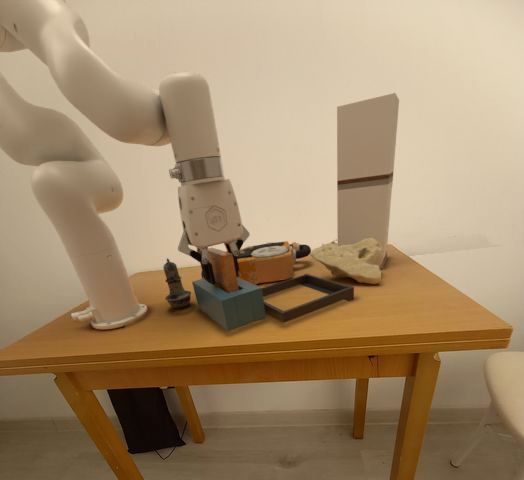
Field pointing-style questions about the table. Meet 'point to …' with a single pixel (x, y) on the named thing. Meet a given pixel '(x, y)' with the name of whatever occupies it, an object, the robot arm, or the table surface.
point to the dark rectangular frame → (316, 283)
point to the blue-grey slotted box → (230, 303)
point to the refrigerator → (365, 169)
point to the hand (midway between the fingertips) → (222, 278)
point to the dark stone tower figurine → (175, 287)
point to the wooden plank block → (223, 269)
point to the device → (269, 261)
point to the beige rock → (352, 260)
